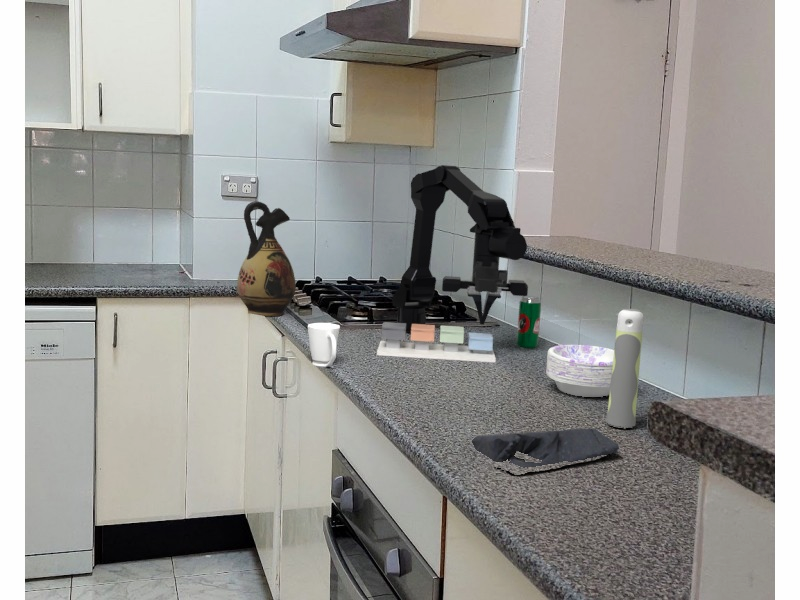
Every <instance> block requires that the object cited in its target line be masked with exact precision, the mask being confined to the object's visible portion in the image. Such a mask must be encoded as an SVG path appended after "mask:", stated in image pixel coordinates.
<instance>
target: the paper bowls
mask: <svg viewBox="0 0 800 600" xmlns="http://www.w3.org/2000/svg"><path fill="white" fill-rule="evenodd" d="M546 355H547V358H546V368H545V369H546V373H545V374H546V376H547V377H548V378H550V379H552V380H554V382H555V384H556V387H557V389H558V390H559V391H560V392H562V393H564V394H566V393H567V394H566V395H569V394H571V395H570V396H572V395H575V396H574V397H577V396H582V397H581V398H584V397H601V398H604V397H603V396H606V397H608V396H609V395H610V383H611V376H612V367H613V357H614V349H612V348H608V347H603V346H597V345H587V344H561V345H560V344H559V345H555V346H554V345H553V346H552V347H550V348H549V349H548V350H547V354H546Z"/></svg>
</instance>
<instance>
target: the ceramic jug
mask: <svg viewBox="0 0 800 600" xmlns="http://www.w3.org/2000/svg"><path fill="white" fill-rule="evenodd" d="M255 210H260V211H262V213H263V214H262V215H261V216H259V218H258V220H257V221H255V222H256V223H255V225H256V226H257V227H259V228H261V232H260V233H259V236H258V237H257V234H256V232H255V230H254V225H253V223H252V216H251V214H252V212H253V211H255ZM290 220H291V219H290V217H289V215H288V214H287V213H286V212H285V210H283V209H281V208H280V207H277V208H274V210H272V211H270V208H269V207H268V205H267V204H265V203H264V202H262V201H258V200H257V201H256V200H254V201H251V202H249V203H248V204H247V205H246V206H245V208H244V211H243V221H244V223H245V227H246V229H247V235H248V236H249V241H250V244H249V248H248V253H247V255H246V257H245V259H244V260H243V262H242V264H241V266H240V269H239V273H238V276H237V284H236V287H237V288H236V289H237V293H238V296H239V299H240V300H241V301H242V302H243V304H244V305H245V307H246V308H247V314H250V315H251V314H252V315H257V316H262V317H282V316H283V315H284V314H285V313H284V312H285V311H286V309H287V306H289V304H290V303H291V301H292V300H293V299H294V295H295V294H296V287H297V284H296V277H295V272H294V269H293V266H292V264H291V261H290V259H289V257H288V255H287V254H286V252H285V250H284V249H283V247H282V246H281V244H280V243H279V241H278V239H277V238H276V235H275V228H277V226H280V225H282V224H284V223H286V222H289V221H290Z"/></svg>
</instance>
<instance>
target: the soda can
mask: <svg viewBox="0 0 800 600" xmlns="http://www.w3.org/2000/svg"><path fill="white" fill-rule="evenodd" d="M518 306H519V308H518V320H517V330H516V331H517V334H516V345H517V347H519V348H521V349H528V350H529V349H531V350H532V349H536V348H537V347H538V345H539V337H540V336H539V335H540V322H541V321H540V320H541V311H542V309H541V308H542V301H541V298H540V297H539V296H532V295H527V296H521V299H520V300H519V305H518Z"/></svg>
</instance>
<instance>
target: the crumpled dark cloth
mask: <svg viewBox="0 0 800 600" xmlns="http://www.w3.org/2000/svg"><path fill="white" fill-rule="evenodd" d="M474 437H475V438H474V439H473V440H472V443H473V445H474V447H475V449H476V450H477V451H479V452H481V453H482V454H484V455H486V456H487V457H489V458H490V459H492V460H493V461H496V462H503V461H506V460H507V459H508V461H510V460H511V461H510V462H509V463H513V464H515V465H518V466H520V467H523V468H525V467H527V468H528V467H536V466H542V465H547V464H555V463H559V462H563V461H568V462H573V461H578V460H585V459H587V458H593V457H597V456H601V455H608V454H610V455H613V454H612V453H614V454H616V453H618V452H619V450H620V446H619V444H618V442H616V441H615V440H612V439H611V438H609V437H608V436H606V435H603V432H600V431H599V430H597V429H596V428H594V427H593V428H592V427H590V428H589V427H588V428H571V429H562V430H547V431H527V432H525V431H524V432H514V433H513V432H512V433H502V434H499V433H498V434H487V435H486V434H485V435H477V436H474ZM516 451H519V452H521V453H524V454H528V456H531V457H533V458H536V459H539V460H542V462H541V463H534V462H525V461H524V460H520V459H518V458H516V457H515V456H514V455H515V453H516ZM608 456H609V455H608Z"/></svg>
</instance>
